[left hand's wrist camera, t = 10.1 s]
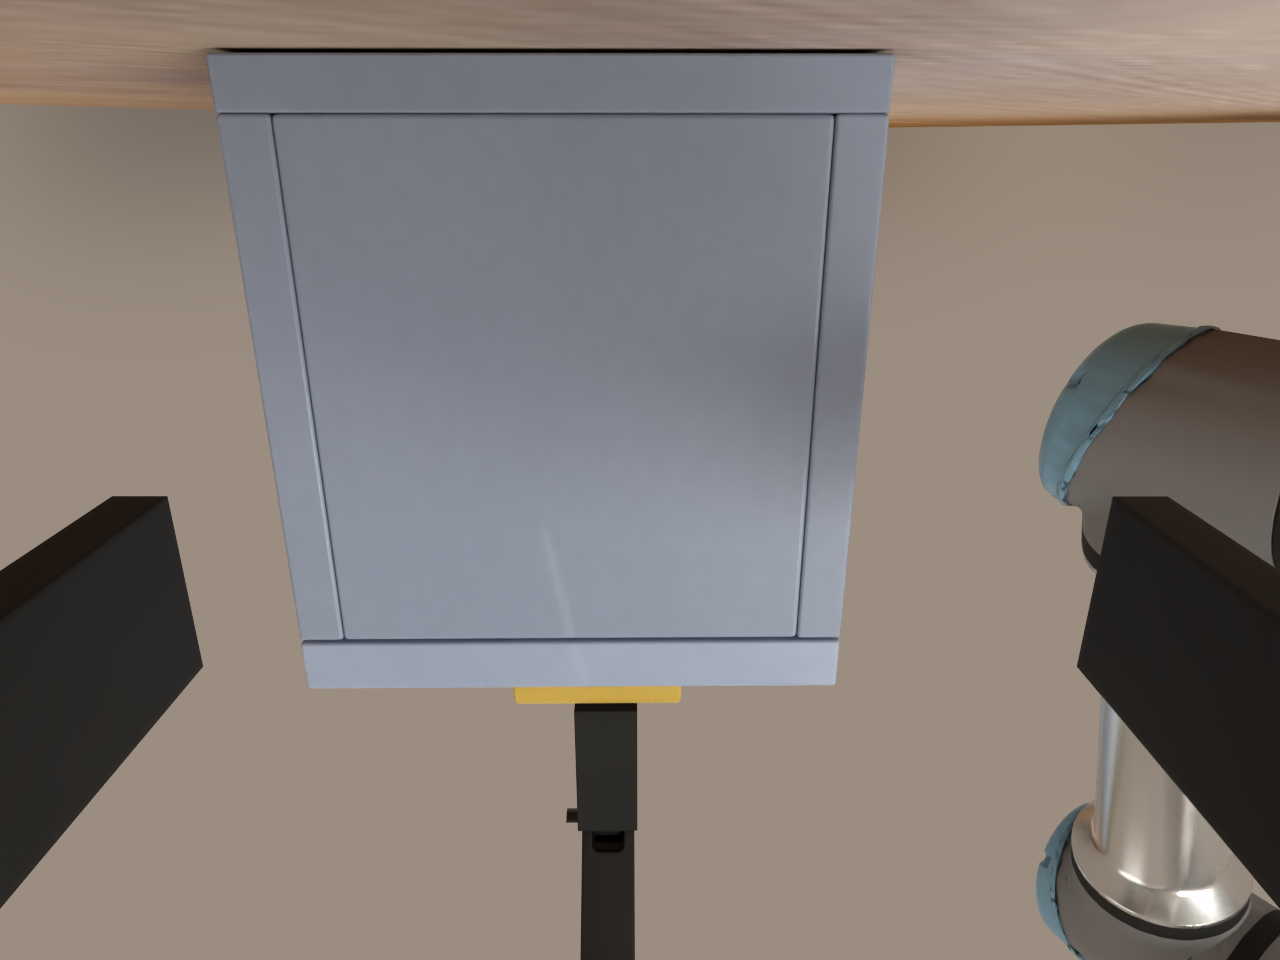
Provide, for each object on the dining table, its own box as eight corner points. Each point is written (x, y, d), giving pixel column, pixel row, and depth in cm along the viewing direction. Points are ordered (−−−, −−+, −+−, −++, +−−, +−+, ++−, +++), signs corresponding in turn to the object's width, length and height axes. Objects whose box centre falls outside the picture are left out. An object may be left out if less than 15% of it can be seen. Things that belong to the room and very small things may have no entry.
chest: (765, 97, 25) (749, 425, 28) (413, 97, 25) (441, 426, 28) (896, 53, 13) (840, 638, 16) (204, 52, 13) (299, 641, 16)
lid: (746, 418, 29) (735, 649, 33) (447, 419, 29) (466, 650, 32) (840, 640, 16) (807, 989, 19) (299, 643, 16) (356, 994, 19)
